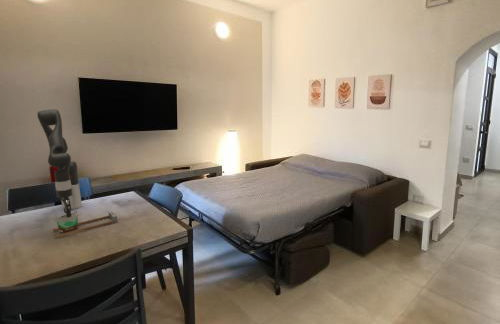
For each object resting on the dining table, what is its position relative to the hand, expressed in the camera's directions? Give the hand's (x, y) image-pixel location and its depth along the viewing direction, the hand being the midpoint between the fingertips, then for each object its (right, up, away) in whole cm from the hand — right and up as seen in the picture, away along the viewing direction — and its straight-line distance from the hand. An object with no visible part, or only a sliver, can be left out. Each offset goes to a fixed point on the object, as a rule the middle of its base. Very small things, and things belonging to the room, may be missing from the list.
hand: (67, 214), depth 164 cm
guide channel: (+7, -9, +8) cm, 14 cm away
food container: (0, -10, +3) cm, 10 cm away
